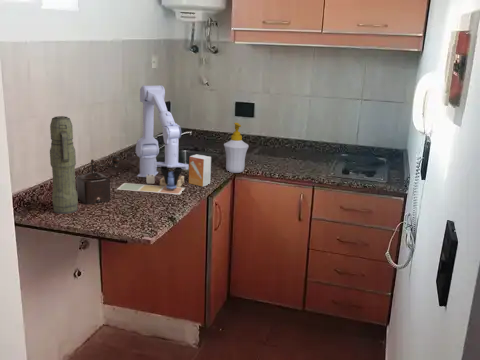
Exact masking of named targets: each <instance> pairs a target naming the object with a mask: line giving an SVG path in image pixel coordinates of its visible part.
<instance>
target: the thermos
mask: <svg viewBox="0 0 480 360" xmlns="http://www.w3.org/2000/svg"><path fill="white" fill-rule="evenodd" d="M49 131H50V140H51V143H50V145H51V146H50V147H49V148H50V149H49V157H50V162H49V163H50V167H51V170H52V171H51V173H52V188H53V189H52V193H51V195H52V196H51V197H52V199H51V201H52V206H53V208H52V209H53V212H54V213H56V214H62V215H64V214H72V213H75V212H77V211H79V210H78V204H79V201H78V200H79V199H78V195H77V184H76V169H75V167H76V164H77V159H76V149H75V146H74V141H73V139H74V133H73V132H74V129H73V123H72V121H71V119H70V117H68V116H64V115H61V116H60V115H59V116H54V117H52V118H51V120H50V125H49Z"/></svg>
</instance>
